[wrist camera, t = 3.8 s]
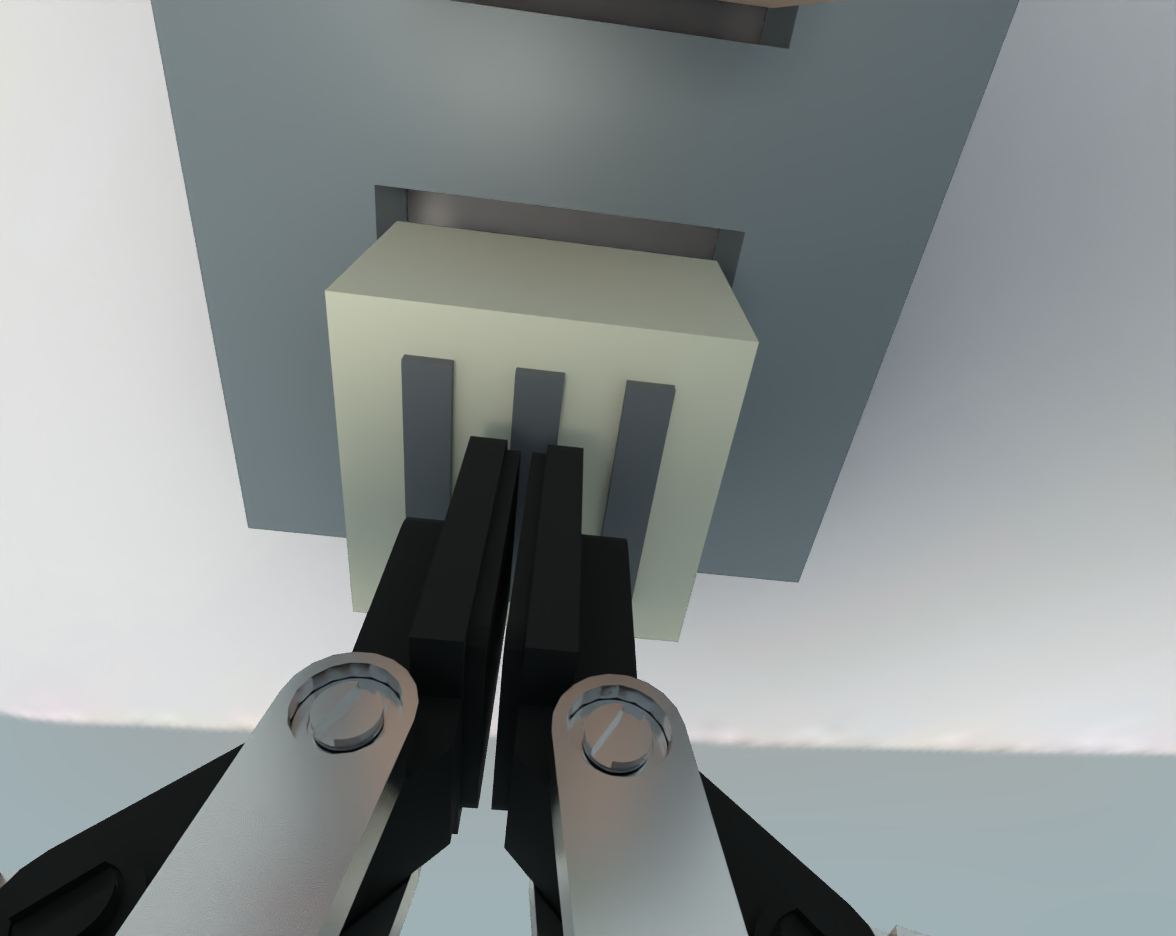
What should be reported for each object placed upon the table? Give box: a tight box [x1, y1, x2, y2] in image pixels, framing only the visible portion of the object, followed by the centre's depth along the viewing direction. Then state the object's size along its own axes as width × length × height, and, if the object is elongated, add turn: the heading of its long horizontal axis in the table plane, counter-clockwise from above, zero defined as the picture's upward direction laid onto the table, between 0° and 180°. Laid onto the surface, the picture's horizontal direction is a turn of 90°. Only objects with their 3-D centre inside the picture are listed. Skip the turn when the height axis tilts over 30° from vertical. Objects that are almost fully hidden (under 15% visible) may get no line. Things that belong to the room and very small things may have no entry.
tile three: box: [325, 221, 759, 642], centre depth 13 cm, size 6×6×4 cm
